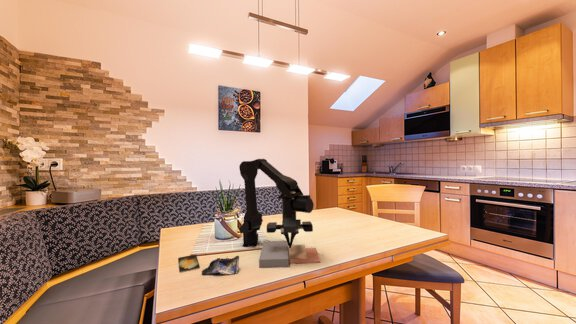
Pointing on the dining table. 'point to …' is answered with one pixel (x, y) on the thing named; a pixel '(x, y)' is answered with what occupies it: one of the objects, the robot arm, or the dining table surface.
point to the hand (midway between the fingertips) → (290, 247)
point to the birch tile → (297, 252)
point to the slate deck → (274, 254)
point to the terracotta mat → (308, 257)
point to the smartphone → (188, 263)
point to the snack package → (222, 266)
